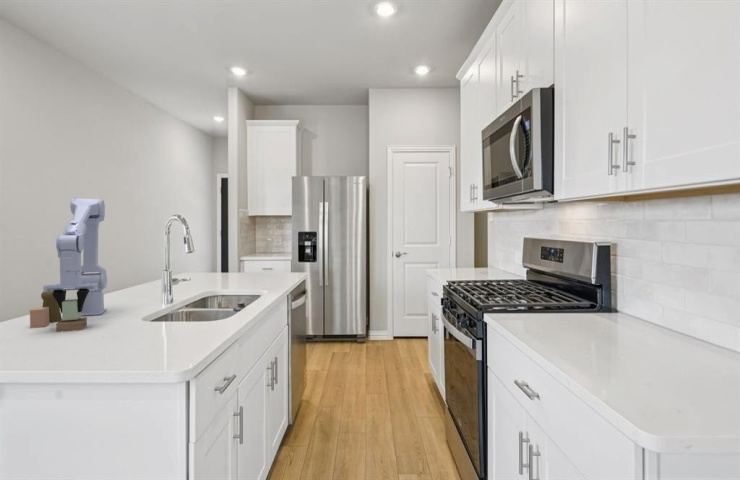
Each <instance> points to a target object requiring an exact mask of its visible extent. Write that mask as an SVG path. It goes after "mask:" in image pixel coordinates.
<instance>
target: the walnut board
mask: <svg viewBox="0 0 740 480" xmlns="http://www.w3.org/2000/svg"><path fill="white" fill-rule="evenodd" d="M55 326H56V327H55V328H56V329H55V330H56V333H61V331H63V332H72V331H73V330H75V331H83V330H84V329H85V328H86V327H87V326H88V317H87V316H86V317H83V316H82V317H80V318H78V319H75V320H63V318H62V319H61V320H60V321H59V322H56V325H55ZM73 332H74V331H73Z"/></svg>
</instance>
